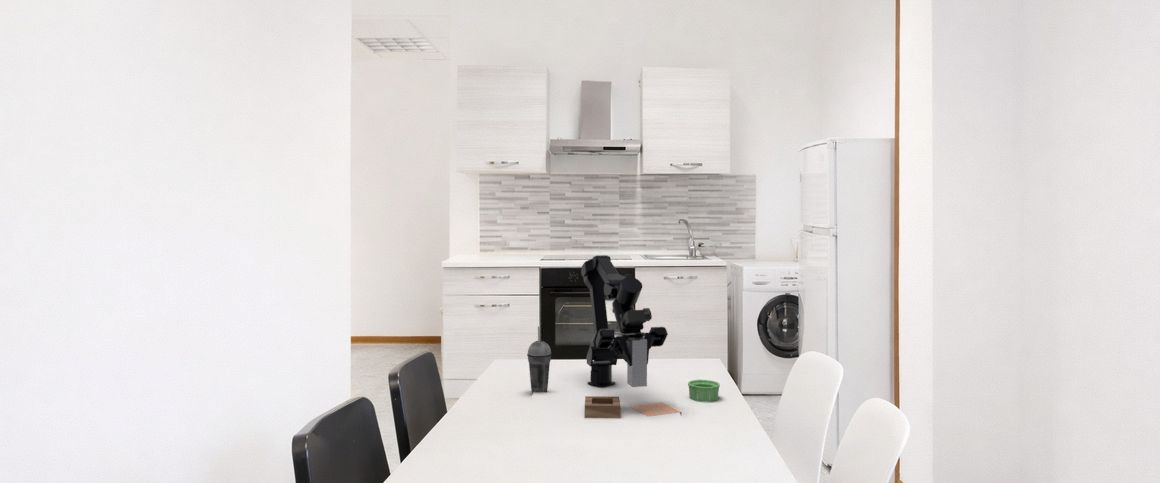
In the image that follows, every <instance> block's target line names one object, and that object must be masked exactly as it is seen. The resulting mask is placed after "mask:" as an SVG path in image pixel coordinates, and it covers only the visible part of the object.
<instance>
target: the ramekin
mask: <svg viewBox="0 0 1160 483" xmlns="http://www.w3.org/2000/svg"><path fill="white" fill-rule="evenodd" d="M687 385H688V393H689V398H690V399H691V400H693V401H696V402H702V401H711V402H715V401H717V400H718V399H719V391H720V385H721V384H720V383H719V382H717V381H714V380H711V379H693V380H690V381H688V382H687ZM714 400H715V401H714Z"/></svg>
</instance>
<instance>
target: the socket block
mask: <svg viewBox="0 0 1160 483" xmlns="http://www.w3.org/2000/svg"><path fill="white" fill-rule="evenodd" d="M620 399H621V398H620V396H605V395H603V396H600V395H599V396H598V395H597V396H596V395H595V396H593V395H591V396H589V395H585V396H584V419H585V418H586V419H591V418H592V419H605V418H606V419H621V400H620Z"/></svg>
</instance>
